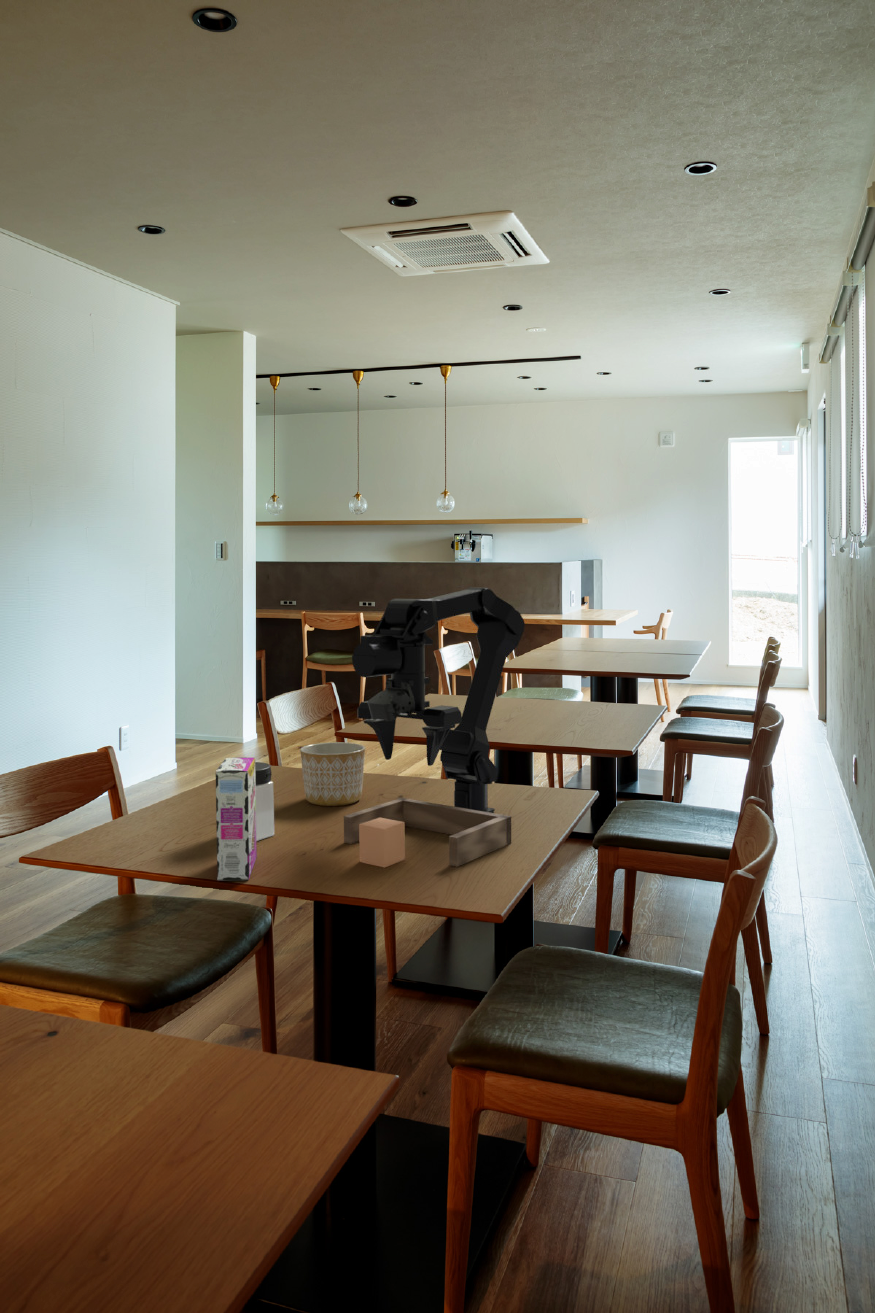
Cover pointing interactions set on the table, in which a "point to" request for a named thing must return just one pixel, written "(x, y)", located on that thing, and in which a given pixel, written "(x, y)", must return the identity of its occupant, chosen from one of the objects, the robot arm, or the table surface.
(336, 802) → the planter
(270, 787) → the jar
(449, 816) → the walnut pen
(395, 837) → the terracotta block
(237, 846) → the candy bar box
